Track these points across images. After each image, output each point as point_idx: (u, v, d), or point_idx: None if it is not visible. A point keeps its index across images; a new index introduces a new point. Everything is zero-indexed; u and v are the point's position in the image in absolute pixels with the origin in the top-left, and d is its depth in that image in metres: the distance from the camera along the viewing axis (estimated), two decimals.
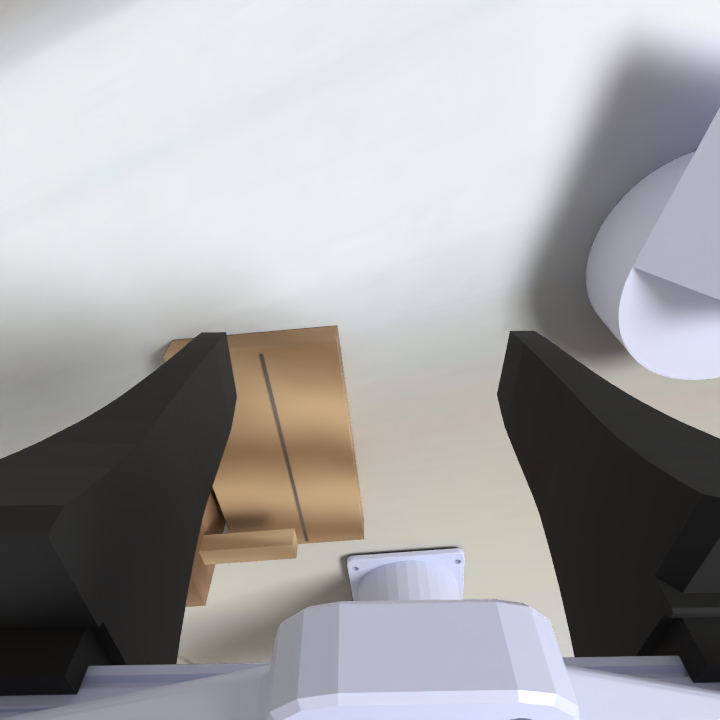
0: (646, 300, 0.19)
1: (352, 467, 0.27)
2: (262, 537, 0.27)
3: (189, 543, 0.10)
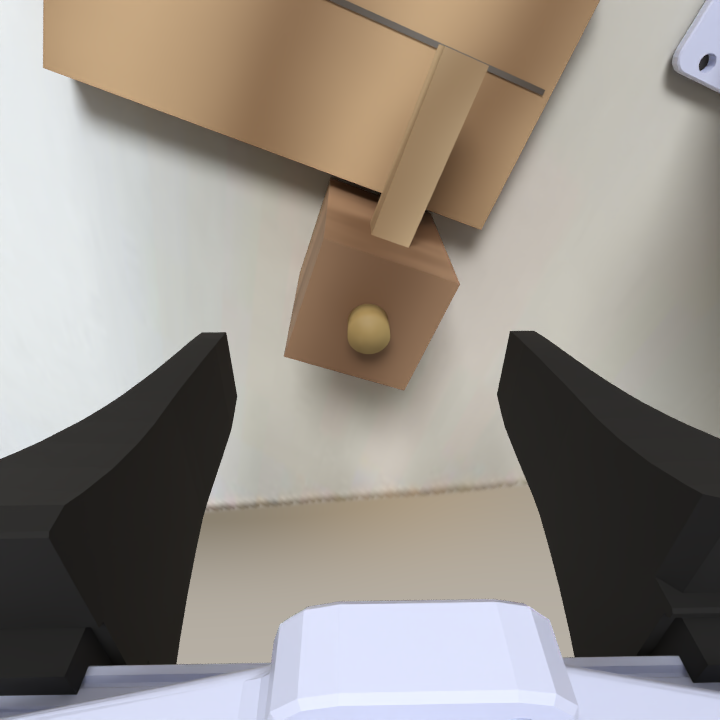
0: None
1: None
2: (414, 113, 0.13)
3: (189, 543, 0.10)
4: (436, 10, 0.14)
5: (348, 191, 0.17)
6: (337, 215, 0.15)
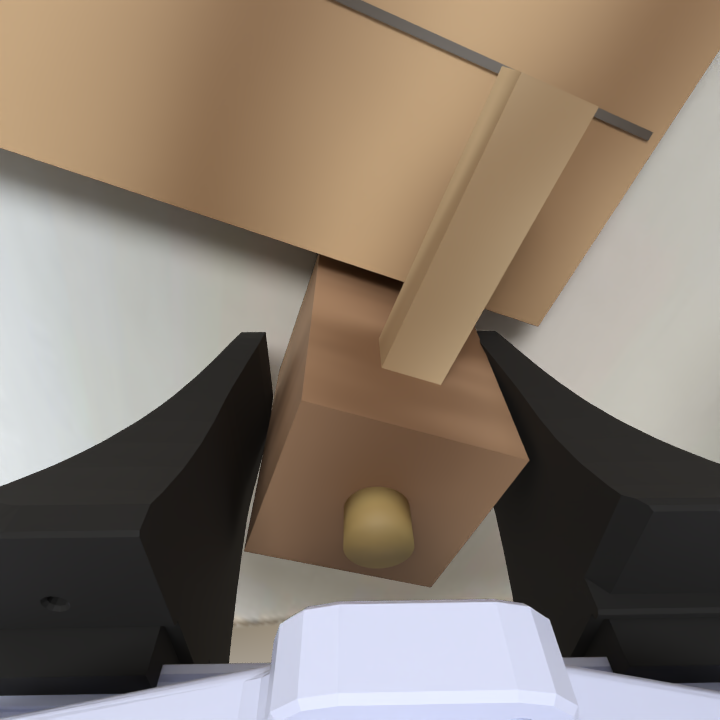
0: None
1: None
2: (457, 182, 0.08)
3: (237, 542, 0.10)
4: (489, 7, 0.09)
5: (345, 273, 0.12)
6: (327, 333, 0.09)
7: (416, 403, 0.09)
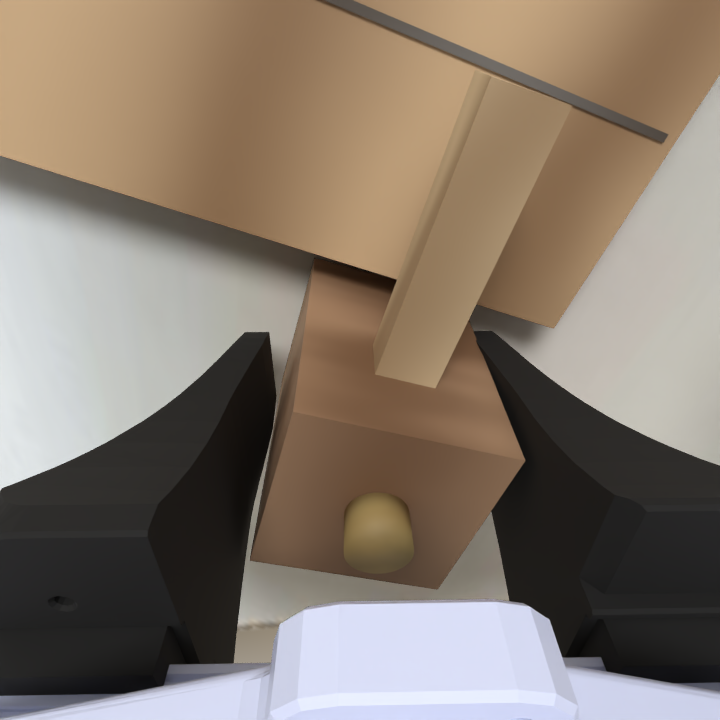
0: None
1: None
2: (438, 188, 0.08)
3: (242, 542, 0.10)
4: (504, 14, 0.09)
5: (340, 280, 0.12)
6: (320, 342, 0.10)
7: (410, 408, 0.09)
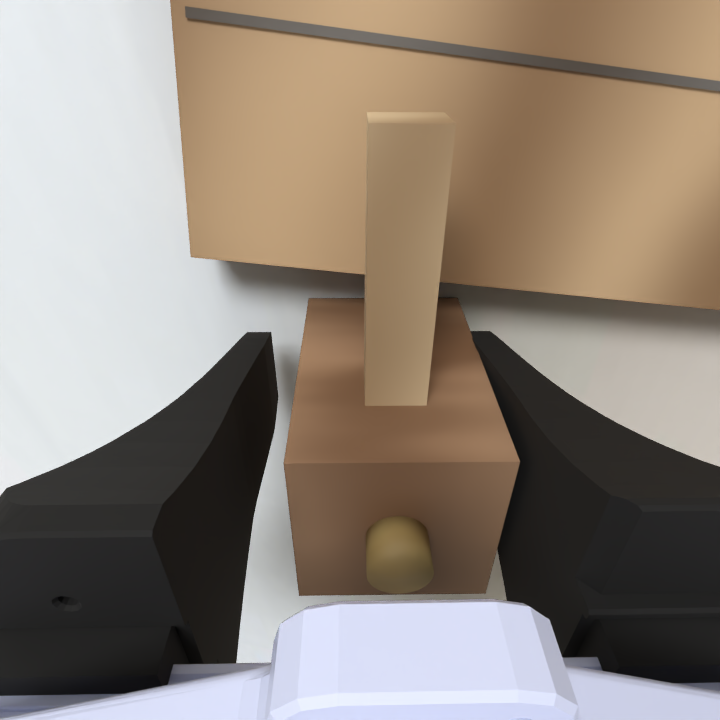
0: None
1: None
2: (366, 227, 0.08)
3: (244, 542, 0.10)
4: None
5: (333, 315, 0.13)
6: (312, 385, 0.10)
7: (399, 433, 0.09)
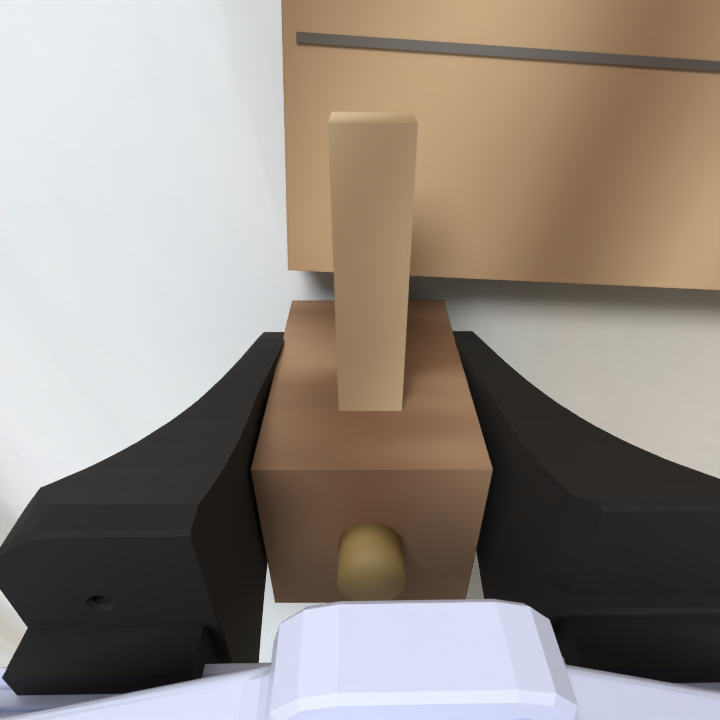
0: None
1: None
2: None
3: None
4: None
5: (315, 318, 0.12)
6: (287, 390, 0.10)
7: (371, 439, 0.09)
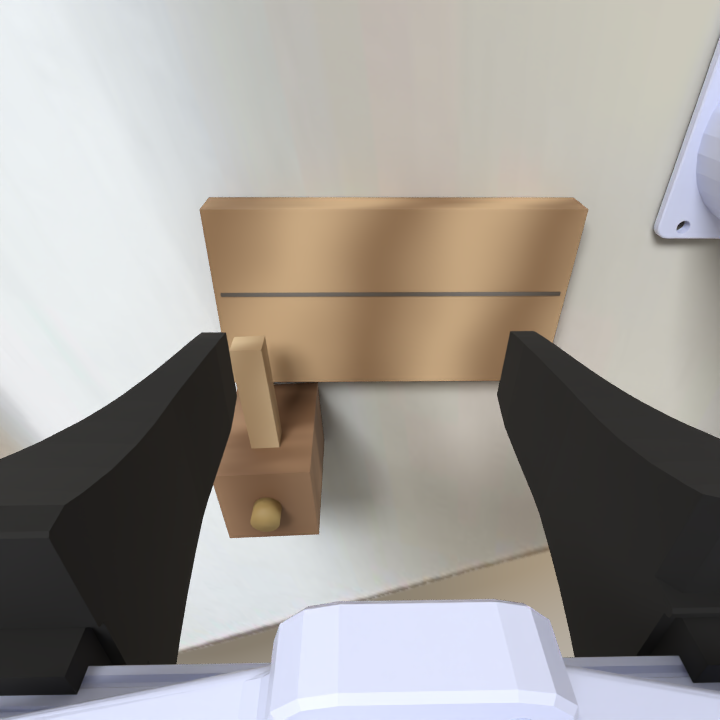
0: None
1: (419, 212, 0.19)
2: None
3: (189, 543, 0.10)
4: (467, 277, 0.20)
5: None
6: (229, 439, 0.22)
7: (263, 461, 0.21)
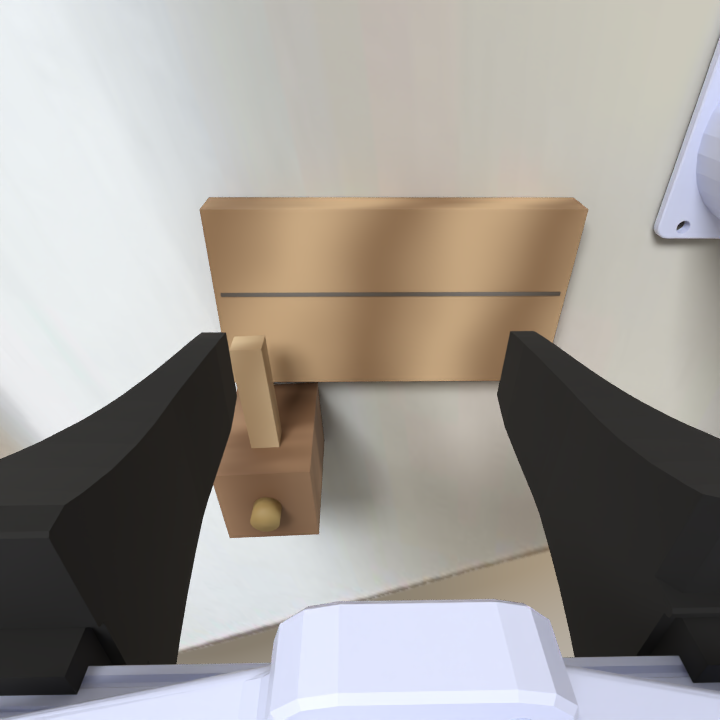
0: None
1: (419, 212, 0.19)
2: None
3: (189, 543, 0.10)
4: (467, 277, 0.20)
5: None
6: (229, 438, 0.22)
7: (262, 461, 0.21)
